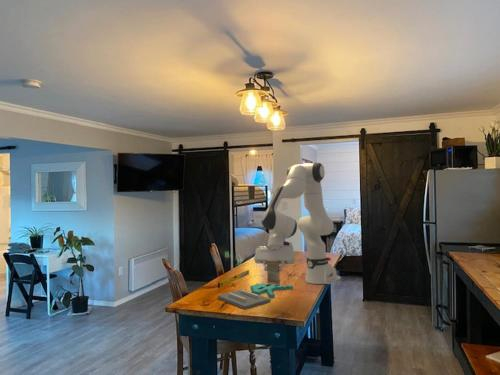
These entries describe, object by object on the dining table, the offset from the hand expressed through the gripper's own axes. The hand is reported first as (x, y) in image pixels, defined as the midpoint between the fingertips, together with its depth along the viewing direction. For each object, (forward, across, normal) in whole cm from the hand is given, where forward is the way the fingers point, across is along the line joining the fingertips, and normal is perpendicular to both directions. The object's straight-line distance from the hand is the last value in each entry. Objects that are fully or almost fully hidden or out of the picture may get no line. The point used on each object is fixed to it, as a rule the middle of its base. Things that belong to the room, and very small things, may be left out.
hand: (272, 270), depth 175 cm
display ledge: (+8, -18, +17) cm, 26 cm away
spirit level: (-18, -34, +43) cm, 58 cm away
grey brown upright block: (+4, 0, +5) cm, 6 cm away
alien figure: (-5, -9, +30) cm, 32 cm away
